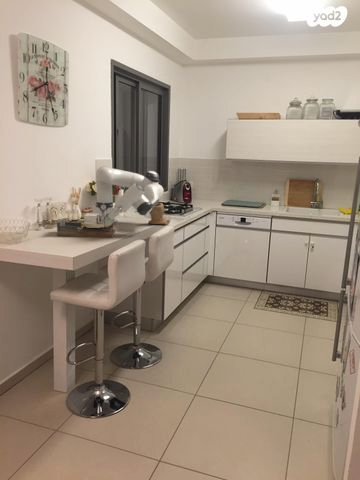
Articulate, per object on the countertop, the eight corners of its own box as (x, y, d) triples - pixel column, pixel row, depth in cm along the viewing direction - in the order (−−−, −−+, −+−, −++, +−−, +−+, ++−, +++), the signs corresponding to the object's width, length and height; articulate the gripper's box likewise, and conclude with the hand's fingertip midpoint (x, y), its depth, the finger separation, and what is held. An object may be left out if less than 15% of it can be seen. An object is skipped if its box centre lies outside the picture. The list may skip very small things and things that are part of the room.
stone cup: (146, 225, 288) (146, 203, 284) (149, 222, 299) (150, 202, 296) (167, 226, 286) (168, 205, 283) (170, 223, 297) (171, 203, 294)
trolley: (84, 226, 252) (84, 207, 249) (106, 227, 252) (106, 208, 250) (81, 229, 242) (81, 209, 240) (103, 230, 243) (103, 210, 240)
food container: (108, 227, 272) (108, 212, 270) (114, 229, 269) (114, 213, 267) (93, 229, 263) (93, 214, 261) (100, 231, 259) (100, 215, 257)
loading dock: (63, 231, 254) (63, 218, 253) (115, 232, 256) (115, 220, 254) (57, 236, 240) (57, 222, 238) (112, 237, 241) (112, 224, 240)
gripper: (124, 211, 235) (107, 228, 236) (127, 206, 255) (111, 222, 256) (116, 203, 233) (99, 220, 235) (119, 199, 253) (104, 215, 255)
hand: (105, 221), depth 246 cm, fingers closed
